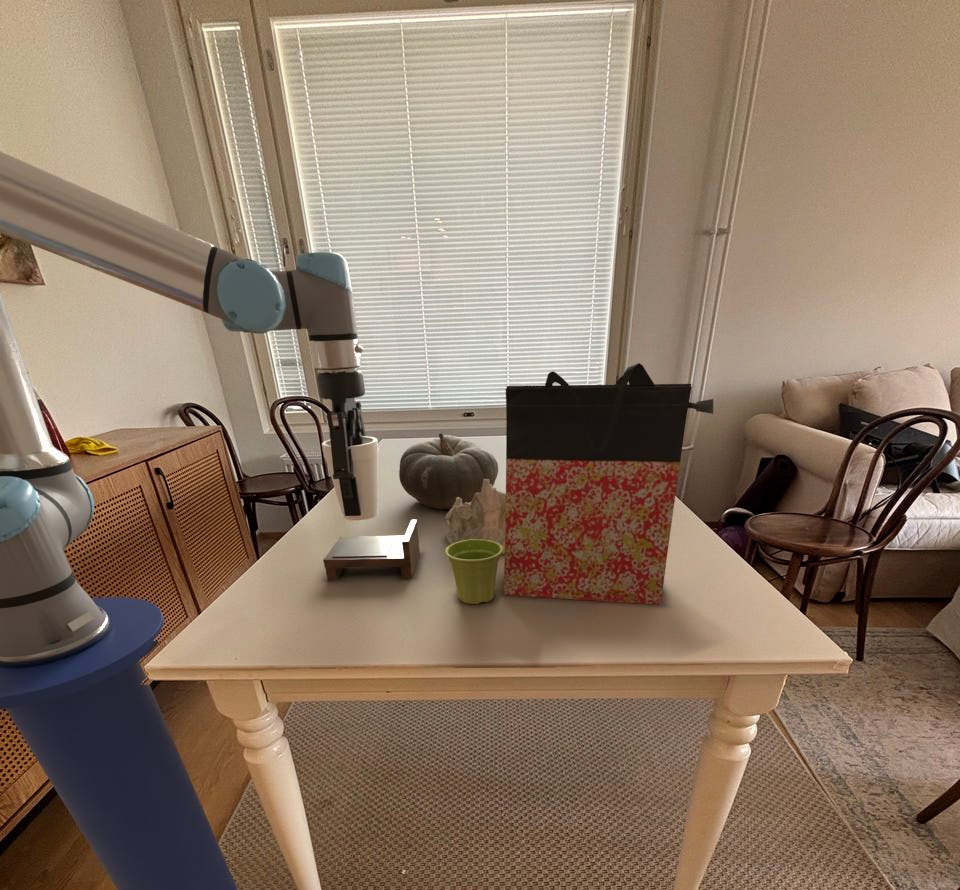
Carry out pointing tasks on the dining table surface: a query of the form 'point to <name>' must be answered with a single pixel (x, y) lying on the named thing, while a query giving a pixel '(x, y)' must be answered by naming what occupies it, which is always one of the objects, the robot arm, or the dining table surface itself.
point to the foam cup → (360, 475)
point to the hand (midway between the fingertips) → (359, 506)
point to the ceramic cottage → (479, 517)
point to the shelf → (375, 552)
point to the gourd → (446, 471)
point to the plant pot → (474, 568)
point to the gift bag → (592, 486)
